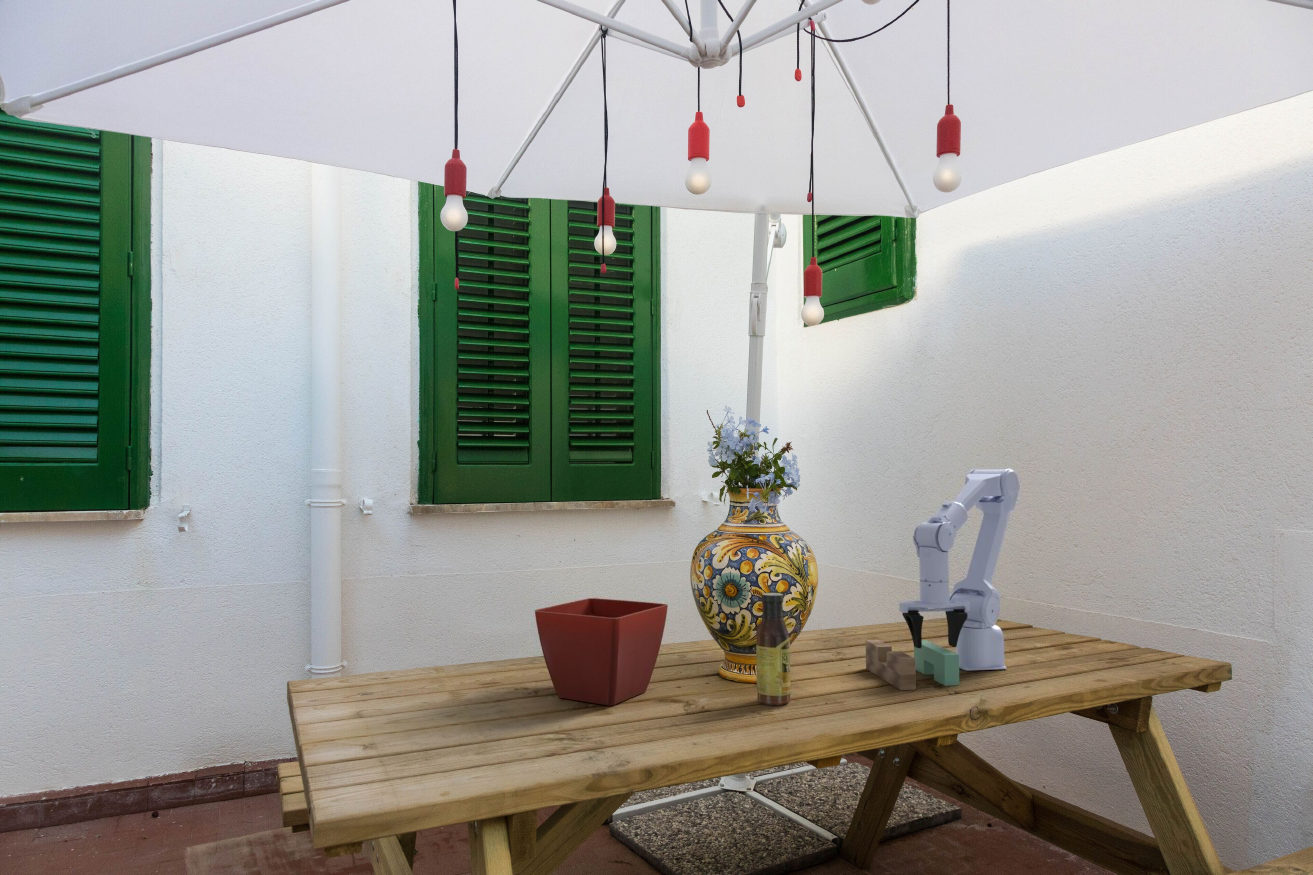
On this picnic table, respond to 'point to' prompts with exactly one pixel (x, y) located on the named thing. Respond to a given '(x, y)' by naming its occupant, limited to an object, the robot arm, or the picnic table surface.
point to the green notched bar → (937, 663)
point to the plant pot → (601, 647)
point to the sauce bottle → (773, 653)
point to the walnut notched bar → (891, 665)
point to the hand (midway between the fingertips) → (935, 646)
